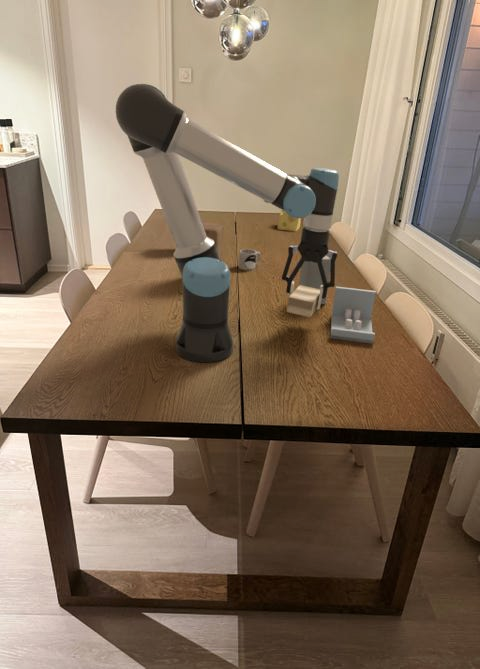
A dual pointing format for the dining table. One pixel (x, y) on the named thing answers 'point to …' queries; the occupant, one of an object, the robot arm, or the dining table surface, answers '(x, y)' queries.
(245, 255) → the mug
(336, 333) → the cradle
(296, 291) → the slab
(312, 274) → the skincare box
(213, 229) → the wooden block
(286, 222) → the cheese
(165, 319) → the dining table surface
